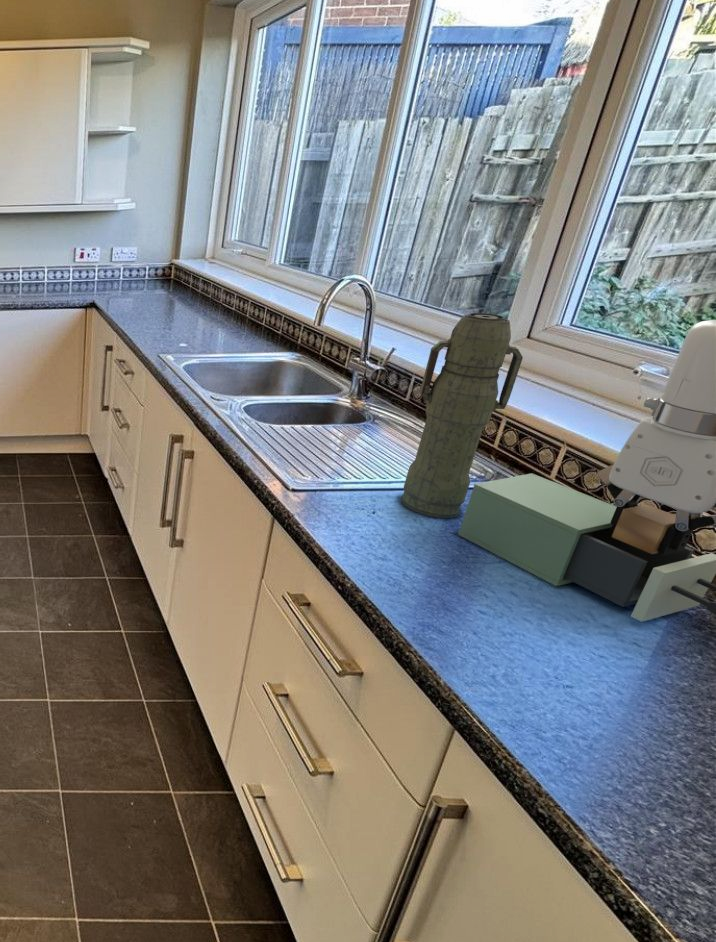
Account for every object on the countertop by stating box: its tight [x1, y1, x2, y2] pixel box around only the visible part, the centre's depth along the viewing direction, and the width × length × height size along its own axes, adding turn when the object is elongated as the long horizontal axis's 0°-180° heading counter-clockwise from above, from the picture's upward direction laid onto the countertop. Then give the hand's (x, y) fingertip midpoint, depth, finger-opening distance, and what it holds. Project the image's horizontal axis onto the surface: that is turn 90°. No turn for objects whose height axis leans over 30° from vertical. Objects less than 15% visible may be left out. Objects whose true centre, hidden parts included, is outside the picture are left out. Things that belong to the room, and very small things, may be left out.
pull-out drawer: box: [564, 527, 716, 623], centre depth 85 cm, size 18×11×8 cm, turn 16°
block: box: [612, 503, 676, 554], centre depth 84 cm, size 4×4×4 cm
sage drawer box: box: [457, 472, 617, 587], centre depth 96 cm, size 15×13×10 cm
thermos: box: [400, 312, 524, 519], centre depth 105 cm, size 9×12×35 cm
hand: (643, 540), depth 85 cm, fingers closed on block, 4 cm apart
